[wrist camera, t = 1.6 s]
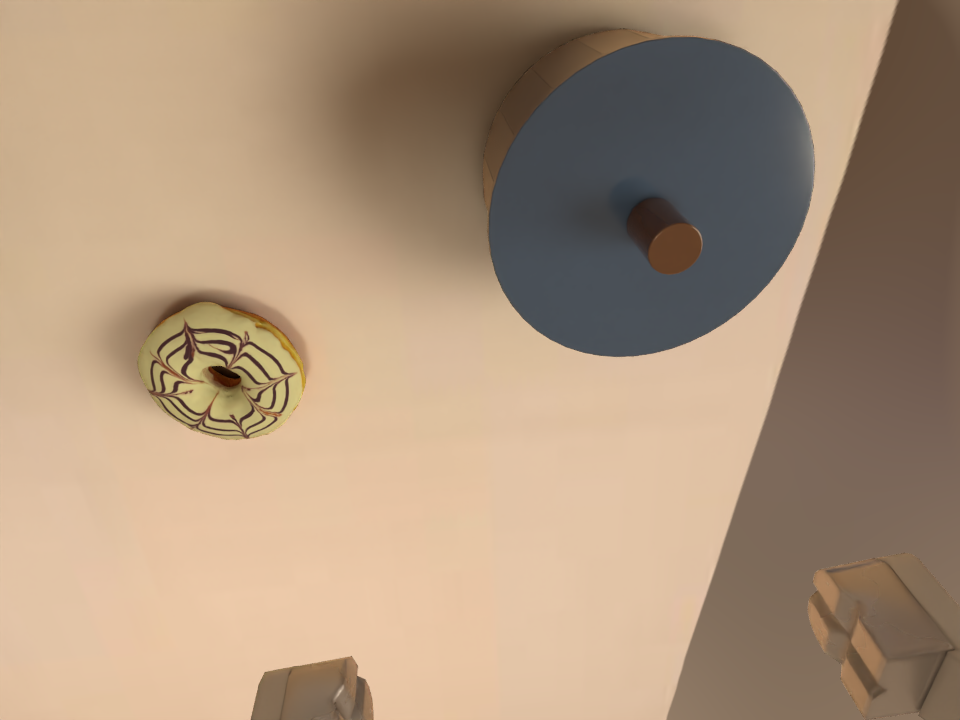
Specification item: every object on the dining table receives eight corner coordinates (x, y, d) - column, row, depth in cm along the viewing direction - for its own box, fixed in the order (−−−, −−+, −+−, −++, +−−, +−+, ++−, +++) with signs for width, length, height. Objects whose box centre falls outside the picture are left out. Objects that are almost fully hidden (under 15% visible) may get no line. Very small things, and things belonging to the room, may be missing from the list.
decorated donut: (188, 265, 39) (169, 292, 36) (334, 341, 43) (328, 371, 40) (130, 373, 43) (108, 406, 40) (268, 433, 48) (258, 467, 45)
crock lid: (456, 77, 27) (463, 98, 23) (825, -4, 27) (895, 4, 23) (512, 370, 37) (523, 420, 33) (783, 314, 36) (828, 358, 32)
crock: (458, 62, 34) (470, 91, 27) (734, 1, 33) (819, 15, 26) (502, 298, 43) (520, 366, 36) (720, 253, 42) (781, 313, 35)
